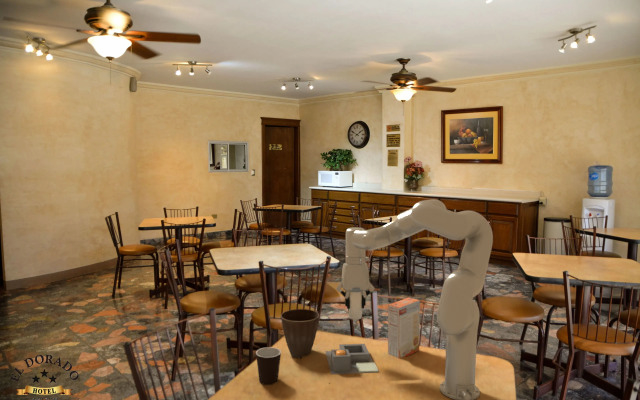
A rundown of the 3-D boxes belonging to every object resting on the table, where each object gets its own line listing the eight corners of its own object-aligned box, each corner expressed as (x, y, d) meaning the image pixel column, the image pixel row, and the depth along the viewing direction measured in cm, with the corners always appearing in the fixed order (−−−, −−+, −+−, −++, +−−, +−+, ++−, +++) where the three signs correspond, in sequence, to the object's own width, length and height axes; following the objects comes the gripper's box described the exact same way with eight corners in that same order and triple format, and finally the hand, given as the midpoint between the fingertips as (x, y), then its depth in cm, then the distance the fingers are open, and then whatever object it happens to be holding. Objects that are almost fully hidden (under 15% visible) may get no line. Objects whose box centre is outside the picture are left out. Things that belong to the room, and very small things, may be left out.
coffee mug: (274, 388, 155) (274, 359, 154) (251, 383, 158) (251, 355, 157) (288, 373, 166) (288, 346, 165) (266, 369, 169) (266, 342, 168)
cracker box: (407, 346, 191) (408, 296, 190) (419, 350, 187) (421, 299, 185) (386, 356, 182) (387, 303, 180) (399, 360, 177) (400, 307, 176)
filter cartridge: (363, 319, 175) (363, 287, 174) (349, 319, 174) (349, 288, 173) (360, 314, 180) (360, 284, 179) (347, 315, 179) (347, 284, 178)
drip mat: (378, 371, 166) (378, 370, 165) (359, 372, 165) (359, 371, 165) (374, 363, 172) (374, 362, 172) (355, 364, 172) (355, 362, 172)
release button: (346, 364, 167) (346, 353, 167) (336, 364, 167) (336, 354, 166) (344, 360, 171) (344, 349, 170) (335, 360, 170) (335, 349, 170)
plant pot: (291, 365, 172) (291, 323, 171) (274, 351, 185) (274, 312, 184) (325, 357, 180) (326, 317, 178) (307, 344, 193) (307, 306, 191)
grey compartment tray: (378, 375, 165) (379, 357, 165) (331, 376, 163) (331, 359, 163) (367, 352, 185) (367, 336, 184) (325, 353, 183) (325, 337, 183)
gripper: (375, 258, 180) (375, 304, 181) (331, 258, 178) (331, 305, 180) (379, 262, 172) (379, 310, 174) (334, 262, 171) (334, 311, 172)
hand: (355, 307), depth 177 cm, fingers closed on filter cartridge, 5 cm apart
